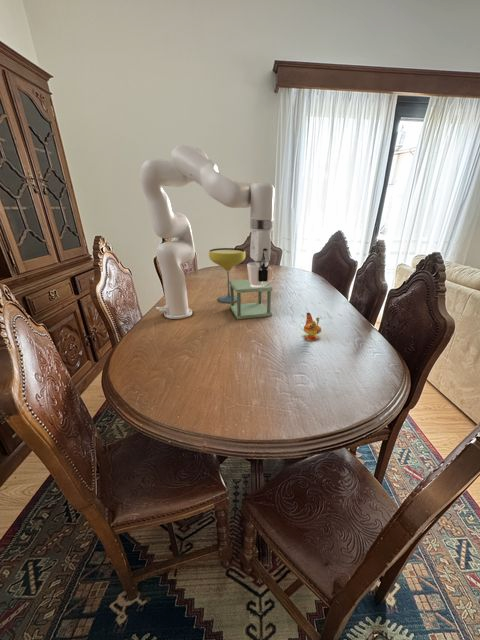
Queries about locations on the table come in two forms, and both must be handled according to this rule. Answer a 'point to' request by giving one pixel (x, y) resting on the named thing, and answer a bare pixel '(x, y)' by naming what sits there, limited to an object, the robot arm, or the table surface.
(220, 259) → the cocktail glass
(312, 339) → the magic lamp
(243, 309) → the shelf
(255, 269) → the cup
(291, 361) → the table surface
